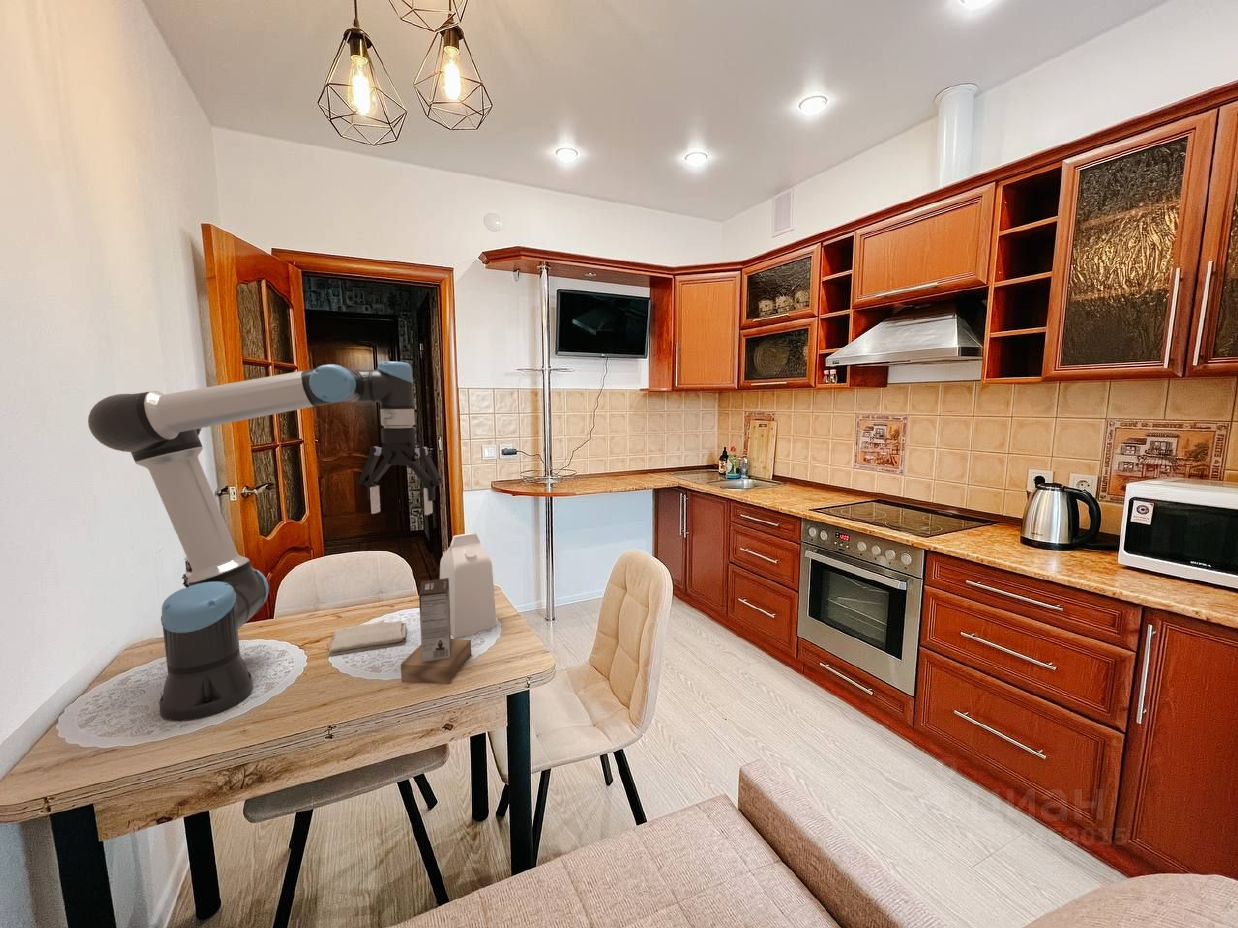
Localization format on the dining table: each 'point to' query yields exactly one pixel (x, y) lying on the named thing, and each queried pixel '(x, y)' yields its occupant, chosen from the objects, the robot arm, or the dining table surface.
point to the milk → (469, 585)
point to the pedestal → (436, 664)
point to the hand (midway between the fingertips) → (402, 513)
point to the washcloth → (367, 637)
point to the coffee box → (435, 619)
